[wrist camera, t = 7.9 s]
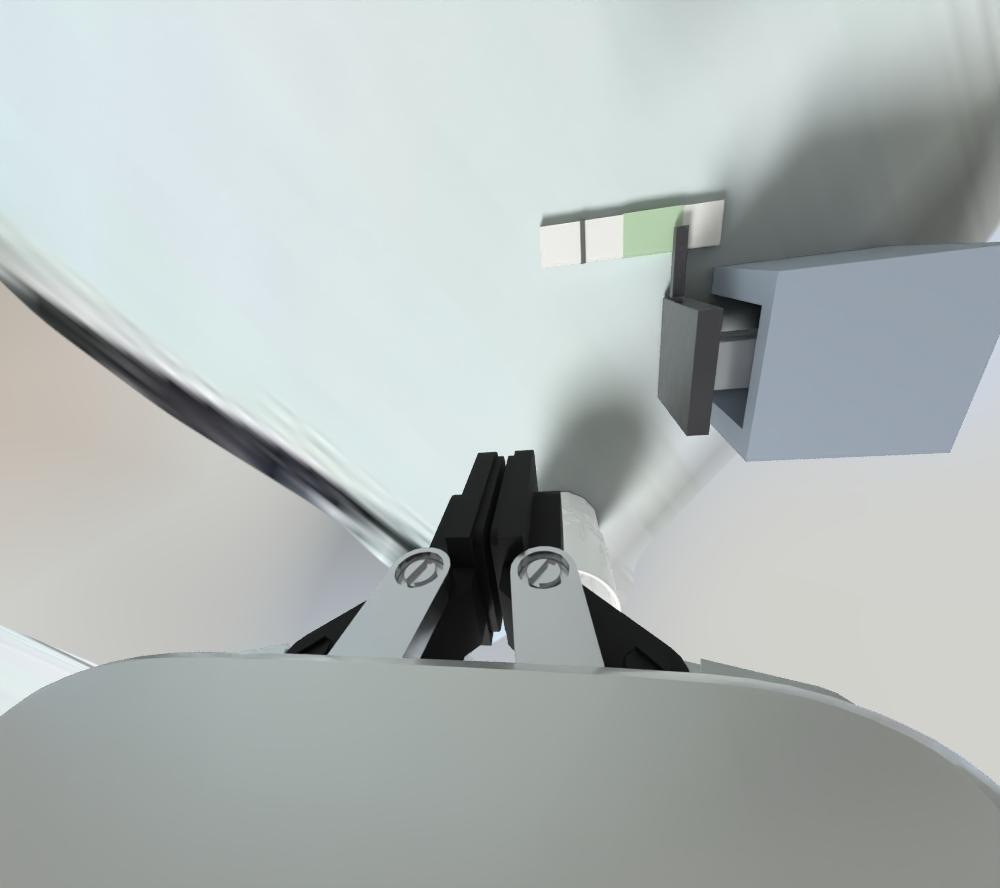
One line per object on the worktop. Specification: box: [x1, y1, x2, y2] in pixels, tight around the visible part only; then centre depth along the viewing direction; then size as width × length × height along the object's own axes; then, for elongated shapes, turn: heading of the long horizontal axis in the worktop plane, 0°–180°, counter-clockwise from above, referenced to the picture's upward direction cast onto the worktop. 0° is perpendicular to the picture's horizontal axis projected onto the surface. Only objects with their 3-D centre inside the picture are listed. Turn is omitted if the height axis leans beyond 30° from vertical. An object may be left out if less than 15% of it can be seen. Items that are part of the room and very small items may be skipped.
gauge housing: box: [539, 200, 1000, 462], centre depth 23 cm, size 21×14×8 cm, turn 97°
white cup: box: [561, 492, 621, 612], centre depth 31 cm, size 8×8×10 cm
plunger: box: [658, 225, 758, 436], centre depth 22 cm, size 10×11×7 cm
